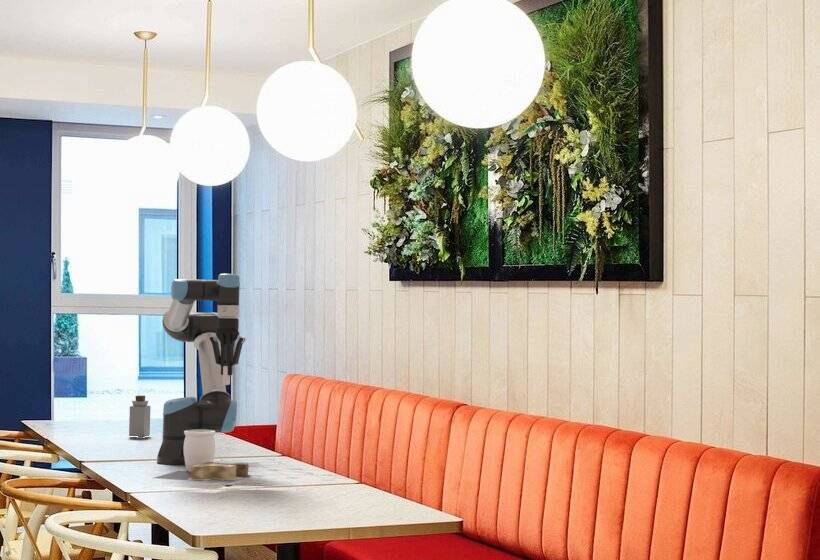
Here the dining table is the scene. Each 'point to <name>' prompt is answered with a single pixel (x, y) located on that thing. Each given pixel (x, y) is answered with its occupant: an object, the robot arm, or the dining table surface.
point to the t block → (213, 471)
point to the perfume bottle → (139, 417)
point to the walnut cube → (241, 469)
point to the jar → (198, 447)
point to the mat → (187, 476)
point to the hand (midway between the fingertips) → (226, 384)
